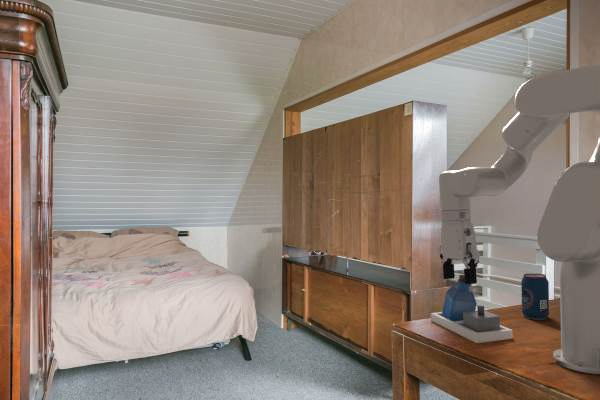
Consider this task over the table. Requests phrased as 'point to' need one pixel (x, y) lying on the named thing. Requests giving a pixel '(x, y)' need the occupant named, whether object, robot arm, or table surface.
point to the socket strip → (470, 334)
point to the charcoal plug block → (481, 320)
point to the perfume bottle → (458, 301)
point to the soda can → (535, 296)
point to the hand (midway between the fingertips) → (459, 281)
